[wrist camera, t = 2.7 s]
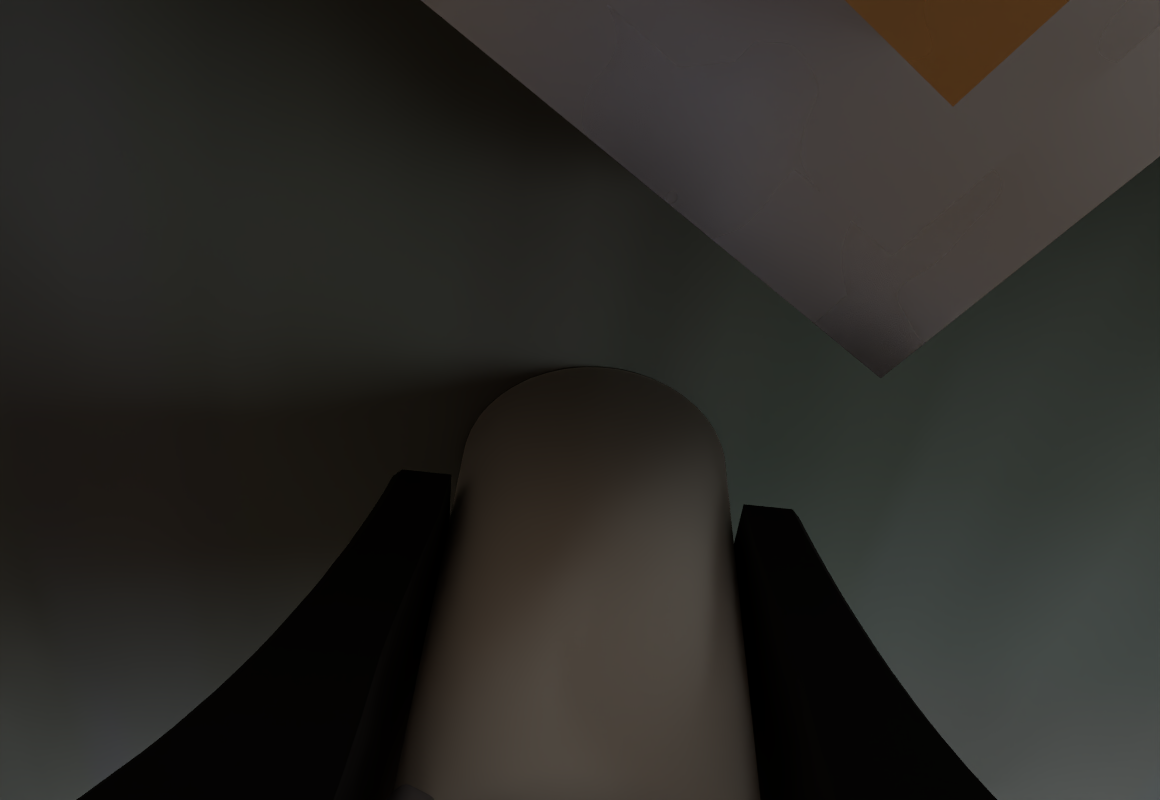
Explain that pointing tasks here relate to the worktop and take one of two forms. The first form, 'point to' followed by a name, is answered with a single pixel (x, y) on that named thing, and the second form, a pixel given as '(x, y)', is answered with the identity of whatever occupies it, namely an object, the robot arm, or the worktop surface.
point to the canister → (585, 607)
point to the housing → (853, 133)
